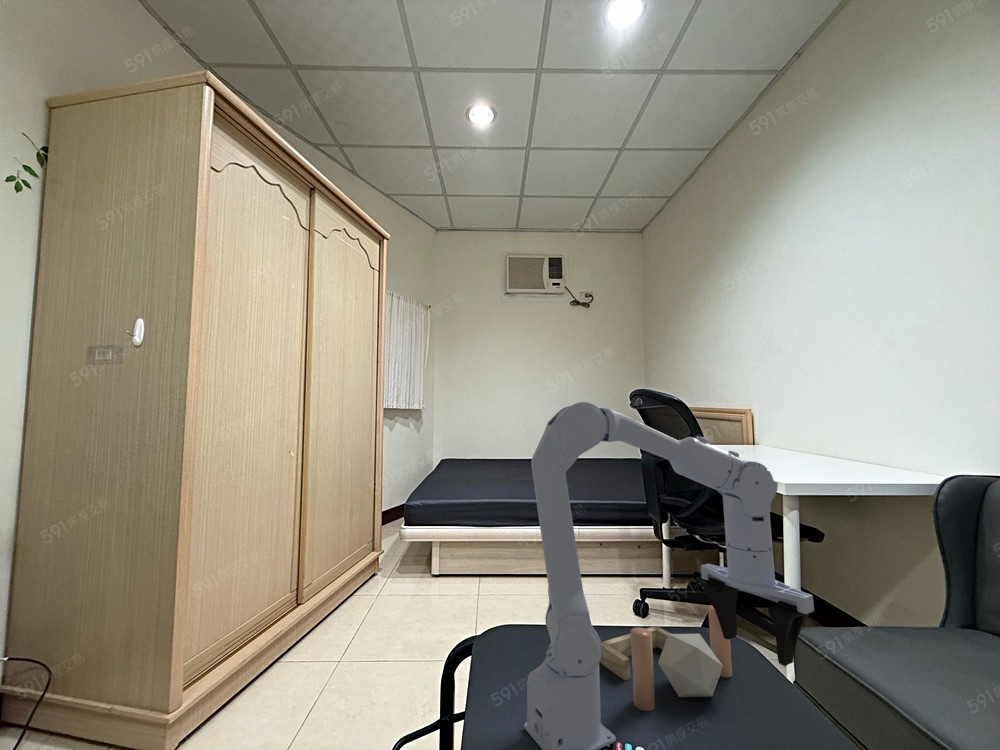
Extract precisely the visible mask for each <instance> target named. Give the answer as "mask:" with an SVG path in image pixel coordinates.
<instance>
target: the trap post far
mask: <svg viewBox="0 0 1000 750" xmlns="http://www.w3.org/2000/svg"><path fill="white" fill-rule="evenodd" d="M707 609H708V623H709V624H708V625H709V640H710V649H711V650H712V652H713V653H714V654H715V656H716V657H717V658H718V660H719V661H720V663H721V664H722V665H723V668H722V671H721V674H720V677H721V678H725V679H726V678H728V679H729V678H731V677H732V676H733V666H732V665H733V664H732V652H731V651H732V650H731V639H729V640H727V639H725V638H724V636H723V633H722V630H721V627H720V623H719V620H718V618H717V615H716V612H715V610H714V608H713V606H712V605H709V606H708V607H707ZM720 677H719V678H720Z"/></svg>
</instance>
